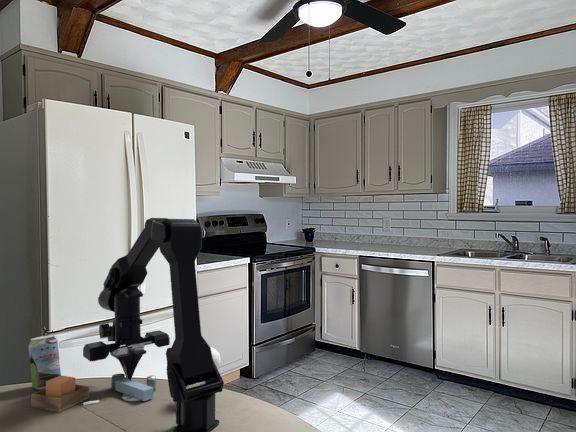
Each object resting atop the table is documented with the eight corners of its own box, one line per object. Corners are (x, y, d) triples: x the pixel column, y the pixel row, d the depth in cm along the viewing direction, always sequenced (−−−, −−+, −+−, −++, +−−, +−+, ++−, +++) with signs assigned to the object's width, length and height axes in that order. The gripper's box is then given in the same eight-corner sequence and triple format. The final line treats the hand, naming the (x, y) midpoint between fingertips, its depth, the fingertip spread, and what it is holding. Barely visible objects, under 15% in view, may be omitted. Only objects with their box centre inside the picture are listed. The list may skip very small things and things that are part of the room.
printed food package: (48, 393, 100) (49, 340, 100) (20, 390, 102) (21, 338, 102) (67, 383, 106) (68, 333, 107) (41, 381, 108) (41, 332, 108)
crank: (154, 397, 97) (155, 383, 97) (142, 401, 94) (142, 388, 94) (120, 384, 105) (121, 372, 105) (108, 388, 102) (108, 376, 102)
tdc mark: (98, 400, 96) (98, 400, 96) (98, 402, 95) (98, 401, 95) (83, 403, 94) (83, 402, 94) (83, 405, 93) (83, 404, 93)
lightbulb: (219, 390, 102) (219, 342, 102) (221, 400, 96) (222, 349, 96) (192, 393, 100) (192, 344, 100) (193, 403, 94) (193, 351, 95)
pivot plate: (155, 393, 100) (155, 392, 100) (138, 403, 94) (138, 401, 94) (134, 389, 102) (134, 388, 102) (115, 399, 97) (115, 398, 97)
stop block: (60, 405, 92) (60, 383, 92) (45, 402, 94) (45, 381, 94) (75, 398, 96) (75, 377, 96) (60, 396, 97) (61, 375, 97)
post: (157, 389, 102) (157, 376, 102) (152, 392, 101) (152, 378, 101) (150, 388, 103) (150, 375, 103) (144, 391, 101) (144, 377, 101)
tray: (88, 398, 97) (88, 386, 97) (59, 412, 90) (59, 399, 90) (61, 393, 100) (61, 382, 100) (30, 406, 92) (31, 394, 92)
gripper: (151, 305, 117) (152, 364, 116) (75, 316, 104) (76, 382, 104) (170, 311, 108) (171, 374, 108) (90, 323, 96) (91, 395, 96)
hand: (128, 381), depth 104 cm, fingers closed
